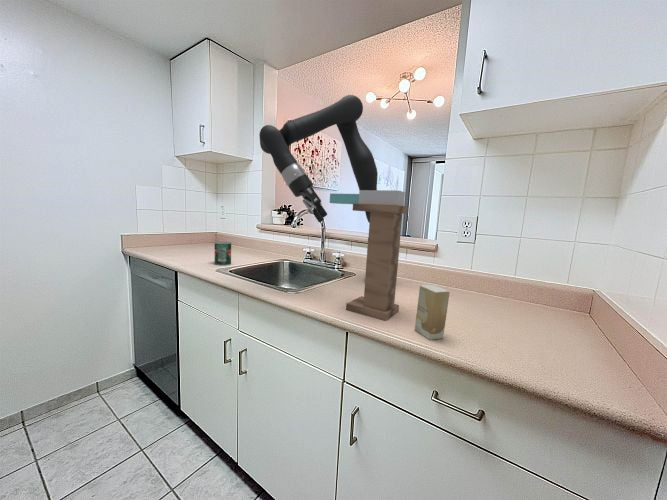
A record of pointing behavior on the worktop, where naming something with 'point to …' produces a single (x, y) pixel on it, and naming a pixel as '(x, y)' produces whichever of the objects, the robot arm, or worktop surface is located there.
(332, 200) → the tool
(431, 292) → the skincare box
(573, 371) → the worktop surface
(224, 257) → the canned tomato
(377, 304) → the tall wooden column
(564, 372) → the worktop surface
